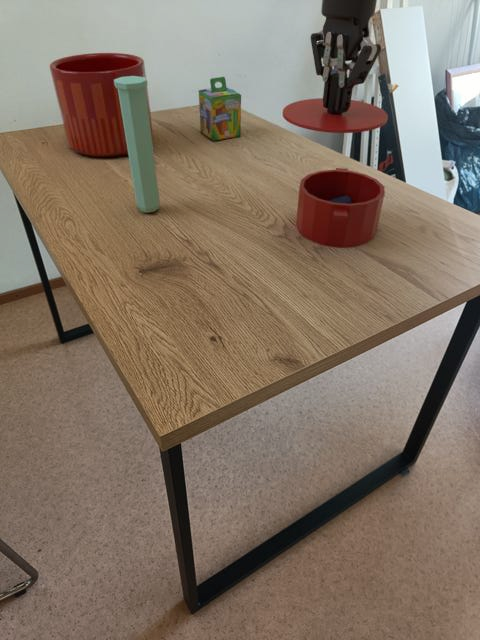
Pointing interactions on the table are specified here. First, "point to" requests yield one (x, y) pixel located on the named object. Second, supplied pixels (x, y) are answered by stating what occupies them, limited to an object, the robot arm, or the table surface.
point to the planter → (94, 100)
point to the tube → (342, 200)
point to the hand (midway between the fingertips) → (335, 109)
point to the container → (139, 140)
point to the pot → (339, 207)
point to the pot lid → (334, 114)
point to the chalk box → (220, 111)
